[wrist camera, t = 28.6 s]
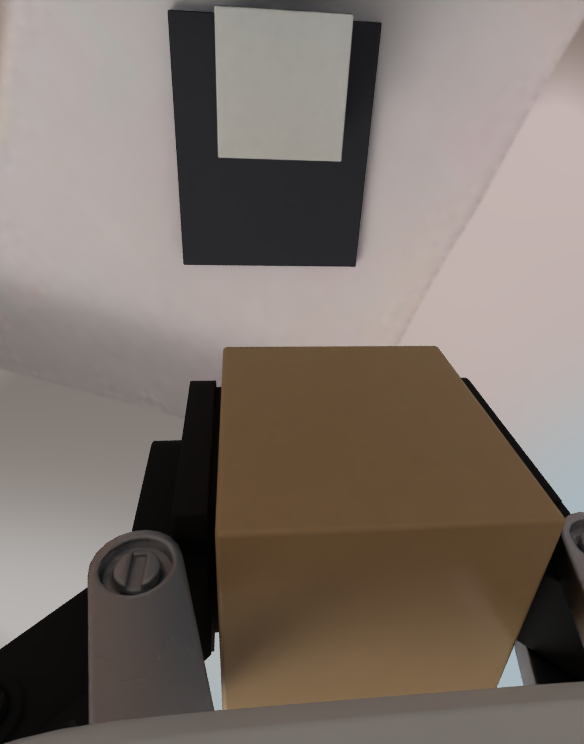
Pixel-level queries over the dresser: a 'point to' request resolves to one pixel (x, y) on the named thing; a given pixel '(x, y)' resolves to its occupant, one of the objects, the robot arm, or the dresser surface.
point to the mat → (265, 167)
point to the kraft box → (367, 528)
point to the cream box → (281, 82)
